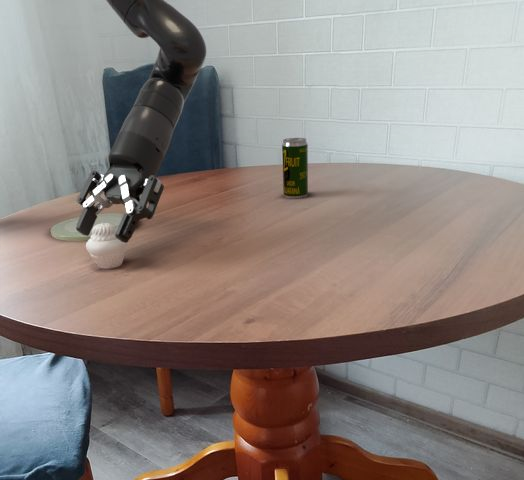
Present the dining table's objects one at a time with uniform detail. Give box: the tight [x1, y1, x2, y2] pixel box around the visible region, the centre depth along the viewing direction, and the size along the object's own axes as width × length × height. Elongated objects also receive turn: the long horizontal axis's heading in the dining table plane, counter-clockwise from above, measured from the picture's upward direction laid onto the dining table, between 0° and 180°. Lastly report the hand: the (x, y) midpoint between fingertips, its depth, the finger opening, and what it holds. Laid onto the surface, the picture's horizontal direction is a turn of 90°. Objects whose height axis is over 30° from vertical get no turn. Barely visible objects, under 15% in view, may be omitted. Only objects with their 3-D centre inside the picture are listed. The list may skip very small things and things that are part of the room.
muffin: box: [85, 222, 128, 270], centre depth 83 cm, size 6×6×7 cm
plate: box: [50, 212, 125, 242], centre depth 104 cm, size 16×16×1 cm
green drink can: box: [281, 137, 309, 200], centre depth 116 cm, size 5×5×12 cm
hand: (100, 236), depth 82 cm, fingers open, 8 cm apart
